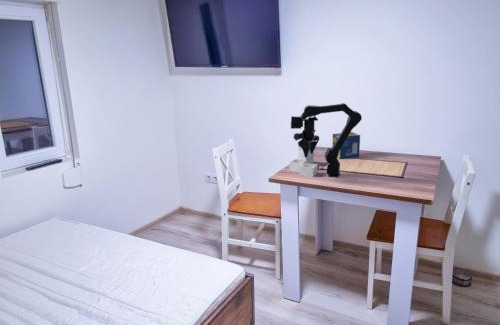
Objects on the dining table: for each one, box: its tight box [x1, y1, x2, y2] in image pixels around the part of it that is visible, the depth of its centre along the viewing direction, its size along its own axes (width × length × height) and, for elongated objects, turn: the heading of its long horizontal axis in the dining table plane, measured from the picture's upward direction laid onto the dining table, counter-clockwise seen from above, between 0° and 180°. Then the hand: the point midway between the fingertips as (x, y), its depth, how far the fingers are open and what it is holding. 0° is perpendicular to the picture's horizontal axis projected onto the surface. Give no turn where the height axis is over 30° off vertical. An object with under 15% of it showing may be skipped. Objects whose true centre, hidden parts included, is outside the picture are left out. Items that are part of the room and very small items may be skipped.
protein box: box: [331, 131, 361, 160], centre depth 253 cm, size 10×15×16 cm
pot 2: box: [298, 163, 318, 178], centre depth 214 cm, size 8×8×6 cm
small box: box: [297, 145, 315, 164], centre depth 234 cm, size 8×6×13 cm
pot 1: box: [289, 158, 307, 172], centre depth 224 cm, size 8×8×6 cm
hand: (308, 155), depth 212 cm, fingers open, 9 cm apart
